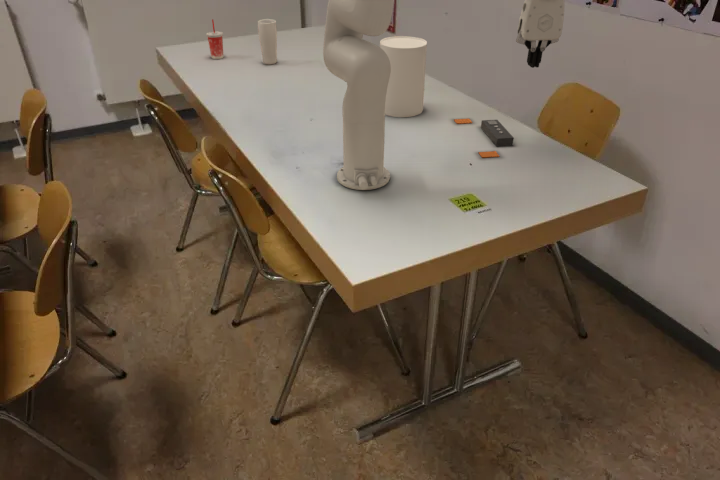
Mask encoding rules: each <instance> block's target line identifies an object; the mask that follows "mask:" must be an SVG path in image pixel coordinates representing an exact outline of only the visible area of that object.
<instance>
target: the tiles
mask: <svg viewBox="0 0 720 480" xmlns="http://www.w3.org/2000/svg"><path fill="white" fill-rule="evenodd" d="M453 121H454V122H455V124H456V125H464V124H473V121H472V120H471V119H470V118H455V119H453ZM478 154H479V156H480V157H481V158H482V159H491V158H500V155H499V154H498V152H497V151H496V150H492V151H479V152H478Z"/></svg>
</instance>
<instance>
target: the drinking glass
mask: <svg viewBox="0 0 720 480" xmlns="http://www.w3.org/2000/svg"><path fill="white" fill-rule="evenodd" d="M277 28H278V27H277V20H276V19H271V18H263V19H259V20H257V34H258V39H259V45H260V50H261V58H262V63H263V64H264V65H275V64H278V63H277V62H278V29H277Z"/></svg>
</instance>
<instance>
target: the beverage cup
mask: <svg viewBox="0 0 720 480" xmlns="http://www.w3.org/2000/svg"><path fill="white" fill-rule="evenodd" d="M214 21H215V20H214V19H213V18H212V19H211V22H212V31H209V32H206V34H205V35H206V37H207V43H208V47H209V52H210V57H211V59H212V60H221V59H224V55H225V54H224V41H223V40H224V39H223V36H224V33H223V32H222V31H216V29H215V22H214Z"/></svg>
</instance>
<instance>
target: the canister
mask: <svg viewBox="0 0 720 480" xmlns="http://www.w3.org/2000/svg"><path fill="white" fill-rule="evenodd" d="M379 47H380V48H381V49H382V50H383V51H384V52H385V53H386V54H387V56H388V58H389V60H390V65H391V73H390V78H389V83H388V87H387V93H386V102H385V116H388V117H394V118H410V117H416V116H418V115H421V114H422V113H423V112H424V100H425V99H424V97H425V83H426V69H427V68H426V67H427V50H428V41H427V40H425V39H423V38H421V37H417V36H409V35H407V36H406V35H397V36H394V35H393V36H387V37H384V38H382V39H380V41H379Z"/></svg>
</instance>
